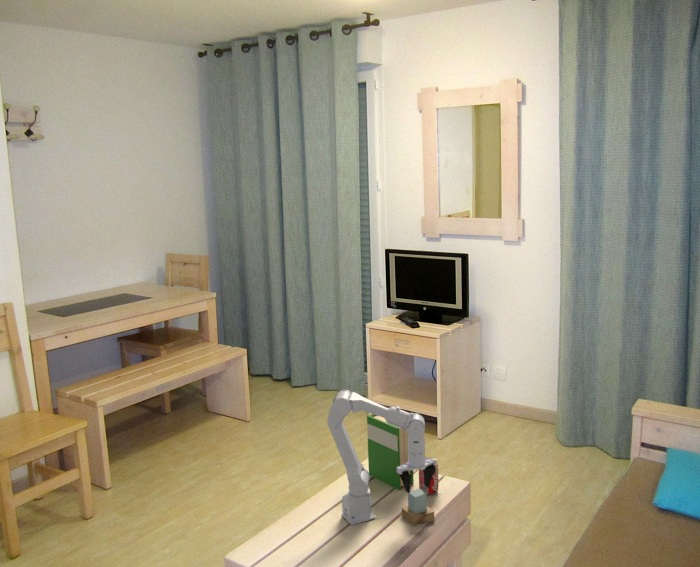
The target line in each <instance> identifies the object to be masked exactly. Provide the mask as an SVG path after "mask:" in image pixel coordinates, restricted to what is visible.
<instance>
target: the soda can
mask: <svg viewBox="0 0 700 567" xmlns="http://www.w3.org/2000/svg"><path fill="white" fill-rule="evenodd" d="M431 458H432V457H425V459H431ZM434 467H435V468H436V471H435V473H434V474H433V477H432V479H431V483H430V487H429V488H427V487H426V486H425V485H424V472H423V470H419V469H418V486H419V487H418V489H421V490H422V491H423V492H425V493H426V494H427V496H432V495H434V494H436V493H437V492H438V491H439V464H437V465H436V466H434Z"/></svg>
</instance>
